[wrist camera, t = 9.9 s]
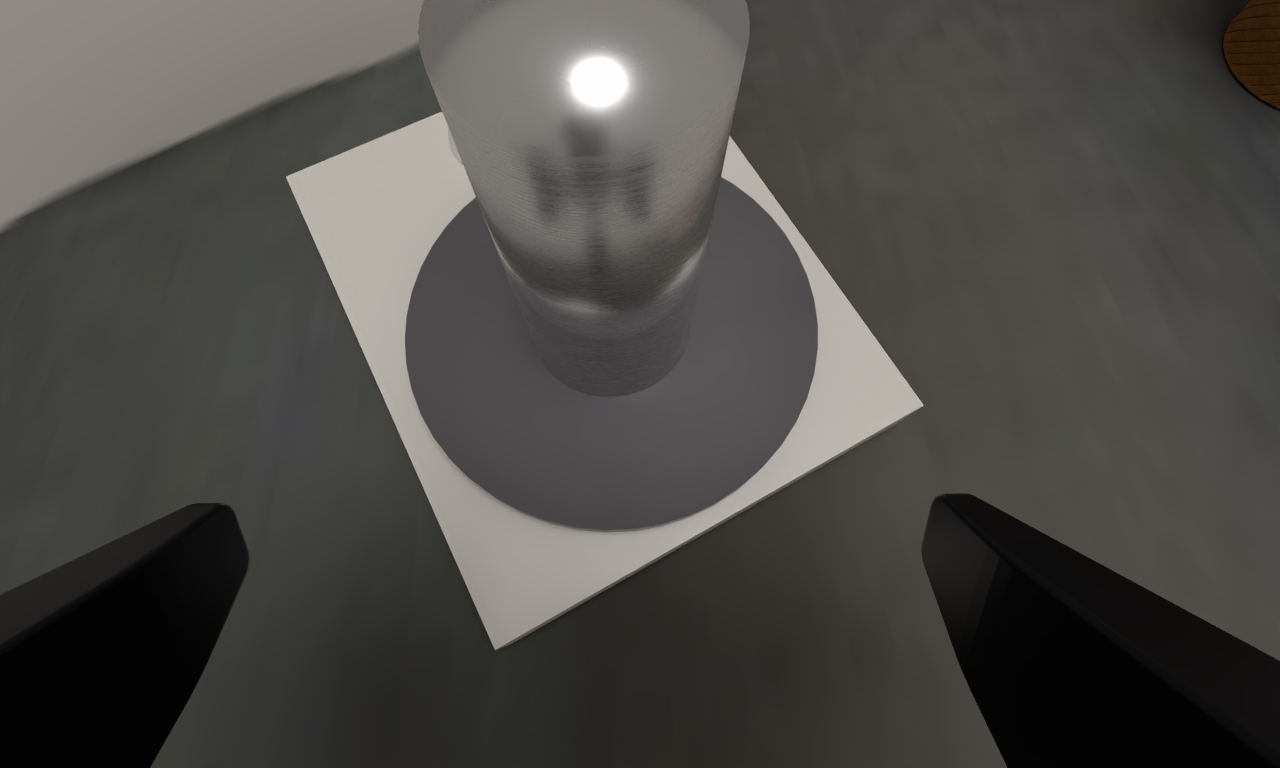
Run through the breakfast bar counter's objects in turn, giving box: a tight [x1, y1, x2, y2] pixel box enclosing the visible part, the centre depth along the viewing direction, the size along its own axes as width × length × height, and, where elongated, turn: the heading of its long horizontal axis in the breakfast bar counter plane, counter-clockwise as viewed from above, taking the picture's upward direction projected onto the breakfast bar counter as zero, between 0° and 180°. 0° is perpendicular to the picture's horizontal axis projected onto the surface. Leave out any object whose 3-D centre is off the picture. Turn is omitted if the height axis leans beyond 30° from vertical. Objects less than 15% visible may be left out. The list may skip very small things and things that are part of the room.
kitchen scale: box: [286, 112, 923, 650], centre depth 22 cm, size 15×18×4 cm
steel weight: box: [418, 0, 750, 397], centre depth 15 cm, size 5×5×11 cm
